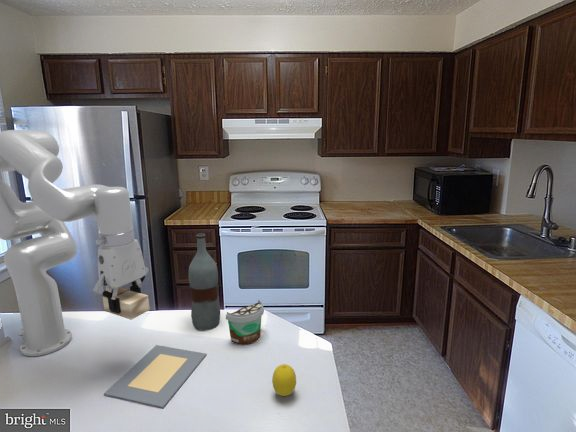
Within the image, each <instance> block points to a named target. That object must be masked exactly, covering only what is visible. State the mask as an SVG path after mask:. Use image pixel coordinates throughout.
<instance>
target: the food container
mask: <svg viewBox="0 0 576 432" xmlns="http://www.w3.org/2000/svg"><path fill="white" fill-rule="evenodd" d="M264 314H265V309H264V306H263V304H262V301H261V300H259V299H258V300H257V302H256V303H254V304H252V305H248V306H244V307H241V308H239V309H238V310H236V311H233V312H232V313H231V312H229V311H226V314H225V320H226V321H227V322H228V323H227V324H228V330H229V336H230V342H231V343H233V344H235V345H239V346H248V345H249V346H250V345H252V344H254V343H256V342H257V341H259V339H260V338H261V329H262V328H261V327H262V316H264Z"/></svg>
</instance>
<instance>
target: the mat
mask: <svg viewBox="0 0 576 432" xmlns="http://www.w3.org/2000/svg"><path fill="white" fill-rule="evenodd" d="M207 355H208V353H205V352H199V351H195V350H194V351H193V350H188V349H181V348H176V347H171V346H170V347H169V346H164V345H158V344H156V345H154V346H153V347H152V348H150V350H149V351H147V353H146V354H145V355H144V356H142V357H141V358H140V359H139V360H138V361H137V362H136V363H135V364H134V365H133V366H132V367H131V368H130V369H128V370H127V371H126V372H125V373H124V374H123V375H122V376H121V377H120V378H119V379H118V380H116V382H114V383H113V384H112V385H111V386H110V387H109V388H108V389H107V390H106V391H104V393H103V396H106V397H110V398H114V399H118V400H123V401H128V402H132V403H137V404H140V405H145V406H150V407H154V408H159V409H163V410H164V408H165V407H166V406H167V405H168V404H169V403H170V401H171V400H172V399H173V397H174V396H175V395H176V394H177V393H178V392H179V390H180V389H181V388H182V387H183V385H184V384H185V383H186V381H187V380H188V379H189V378H190V376H191V375H193V373H194V372H195V371H196V369H197V368H198V366H200V364H201V363H202V361H203V360H204V359H205V358H206V357H207Z"/></svg>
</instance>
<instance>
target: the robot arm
mask: <svg viewBox="0 0 576 432" xmlns="http://www.w3.org/2000/svg"><path fill="white" fill-rule="evenodd" d="M59 152H60V145H59V144H58V141H57V140H56V138H55V137H54V136H53V135H52V134H51V133H49V132H48V131H45V130H40V129H8V130H3V131H0V173H1V172H13V171H15V172H17V173H18V174H20V175H22V176H23V177H24V178H26V179H27V181H28V182H27V189H28V192H29V195H30V197H31V200H32V201H26V202H24V201H21V200H20V199H19V198H18V196H17V194H16V193H15V191H14V190H13V188H12V187H11V186H10V185H9V184H8V183H6V182H5V181H3V180H2V179H0V239H1V240H3V241H13V240H19V239H23V238H26V237H27V238H28V237H30V236H34V235H37V234H40V236H37V237H33V238H30V239H26V240H23V241H20V242H16V243H15V244H12V245H11V246H10V247H8V248H7V249H6V251H5V253H4V256H3V260H4V264H5V267H6V269H7V271H8V274H9V275H10V278H11V280H12V284H13V286H14V287H13V288H14V291H15V296H16V300H17V304H18V305H17V306H18V309H19V314H20V319H21V326H22V329H21V330H20V331H19V332H17V335H18V336H19V337H23V342H22V343H20V347H19V351H20V353H21V355H24V356H27V357H39V356H44V355H48V354H50V353H54V352H56V351H58V350H60V349H62V348H63V347H65V346H67V345H68V344H69V343H70V342H71V341H72V338H73V333H72V331H71V330H69V329H67V328H65V324H64V323H65V322H64V317H63V316H64V315H63V312H62V311H63V309H62V306H61V299H60V294H59V289H58V283H57V282H56V280H55V279H54V278H53V277H51V276H50V275H49V274H48V273H47V271H48V270H50V269H52V268H55V267H58V266H61V265H63V264H66V263H68V262H70V261H73V259H74V258H75V257H76V256H77V253H78V247H77V244H76V241H75V239H74V237H73V235H72V234H71V232H70V230H69V229H68V227H67V225H66V223H67V222H69V223H70V222H75V221H78V220H82V219H86V218H89V217H90V218H91V217H95V216H96V221H97V230H98V238H97V239H95V244H96V245H97V246H98V245H99V247H98V250H97V273H98V280H97V282H96V284H95V285H94V287H93V289H92V291H93V292H94V293H96V294H97V295H101V296H104V297H106V298H108V304H109V309H110V311H111V312H114V313H117V314H119V313H120V312H121V310H120V303H119V298H117V291H118V289H119V288H121V287H122V288H123V287H124V286H127V285H128V284H130V285H131V286H129V290H130V291H134V292H137V293H141V294H142V292H141V288H142V286H143V282H144V280H145V279H146V276H147V274H148V272H150V271H149V270H150V269H149V268H148V267H147V266H146V265H145V260H144V255H143V252H142V249H141V248H142V247H141V245H140V242H139V241H138V239H135V232H134V223H133V215H132V208H131V199H130V193H129V190H128V189H127V188H126V187H123V186H107V185H104V184H99V183H97V184H88V185H82V186H81V185H80V186H74V187H68V188H60V187H58V186H57V185H55V184H54V183H55V182H56V181H57V180H58V179H59V178H60V176H61V174H62V172H63V169H64V167H63V162H62V160H61V159H60V158H59V156H58V155H59ZM104 287H105V289H104ZM111 292H112V293H111Z"/></svg>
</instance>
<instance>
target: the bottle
mask: <svg viewBox="0 0 576 432" xmlns="http://www.w3.org/2000/svg"><path fill="white" fill-rule="evenodd" d="M195 236H196V246H197V247H196V248H197V250H196V251H197V252H196V253H195V254H194V257H193V258H192V260H191V262H190V264H189V267H188V275H187V276H188V278H187V279H188V283H189V289H190V296H191V311H190V317H191V322H192V325H193V327H194V329H196V330H197V331H209V330H213V329H215V328H216V327H218V326H219V323H220V319H221V305H220V302H219V301H220V300H219V297H218V296H219V295H218V293H219V292H218V291H219V290H218V289H219V271H218V270H219V269H218V265H217V263H216V261H215V260H214V258H212V256H211V255H210V254H209V252H208V251H207V247H206V234H205V233H197V234H196V235H195Z"/></svg>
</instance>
